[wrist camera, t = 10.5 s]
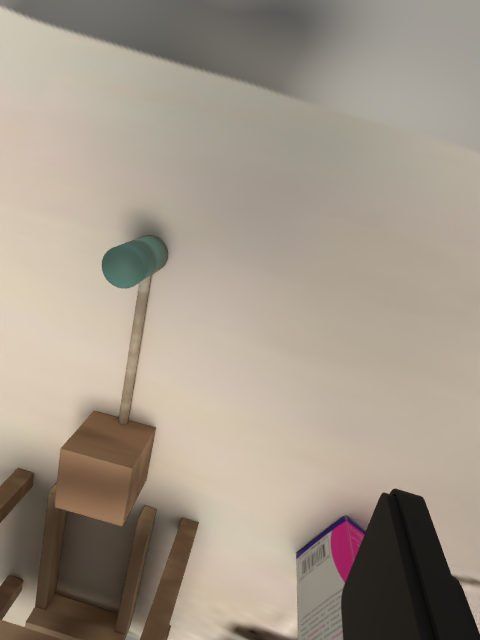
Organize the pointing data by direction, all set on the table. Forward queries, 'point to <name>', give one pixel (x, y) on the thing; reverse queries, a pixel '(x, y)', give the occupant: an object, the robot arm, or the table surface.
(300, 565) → the supplement box
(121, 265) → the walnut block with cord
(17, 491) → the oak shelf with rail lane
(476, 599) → the table surface
